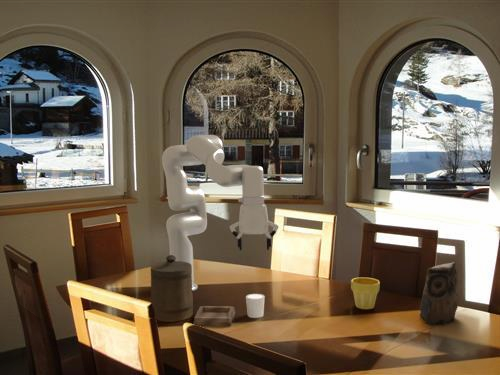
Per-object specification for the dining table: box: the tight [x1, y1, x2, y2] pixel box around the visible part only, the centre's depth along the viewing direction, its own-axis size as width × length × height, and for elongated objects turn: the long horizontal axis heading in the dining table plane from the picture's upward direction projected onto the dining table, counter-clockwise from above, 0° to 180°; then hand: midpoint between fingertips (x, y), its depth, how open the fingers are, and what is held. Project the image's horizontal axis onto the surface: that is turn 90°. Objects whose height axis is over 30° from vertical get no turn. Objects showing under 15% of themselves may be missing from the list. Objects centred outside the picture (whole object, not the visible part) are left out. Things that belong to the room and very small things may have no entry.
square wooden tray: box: [192, 305, 236, 327], centre depth 196 cm, size 13×13×2 cm
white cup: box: [245, 293, 266, 319], centre depth 199 cm, size 7×7×7 cm
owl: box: [419, 261, 459, 327], centre depth 190 cm, size 13×13×20 cm
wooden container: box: [150, 254, 194, 323], centre depth 200 cm, size 15×15×22 cm
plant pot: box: [350, 277, 381, 310], centre depth 206 cm, size 10×10×10 cm
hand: (254, 249), depth 197 cm, fingers open, 9 cm apart
